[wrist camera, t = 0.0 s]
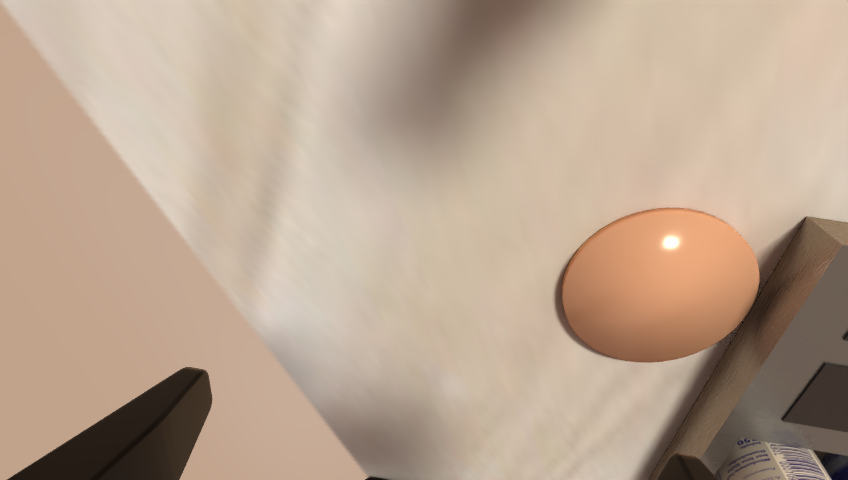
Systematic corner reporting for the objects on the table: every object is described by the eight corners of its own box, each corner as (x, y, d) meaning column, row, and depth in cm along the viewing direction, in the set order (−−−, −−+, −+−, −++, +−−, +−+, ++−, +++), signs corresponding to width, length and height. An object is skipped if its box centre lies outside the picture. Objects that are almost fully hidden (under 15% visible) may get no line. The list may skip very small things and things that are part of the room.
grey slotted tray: (786, 506, 31) (809, 548, 29) (647, 481, 32) (660, 521, 29) (1015, 248, 21) (1078, 282, 19) (806, 216, 21) (843, 246, 19)
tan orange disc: (706, 366, 26) (711, 374, 26) (543, 339, 27) (544, 346, 26) (789, 224, 22) (797, 230, 21) (590, 193, 22) (593, 199, 21)
